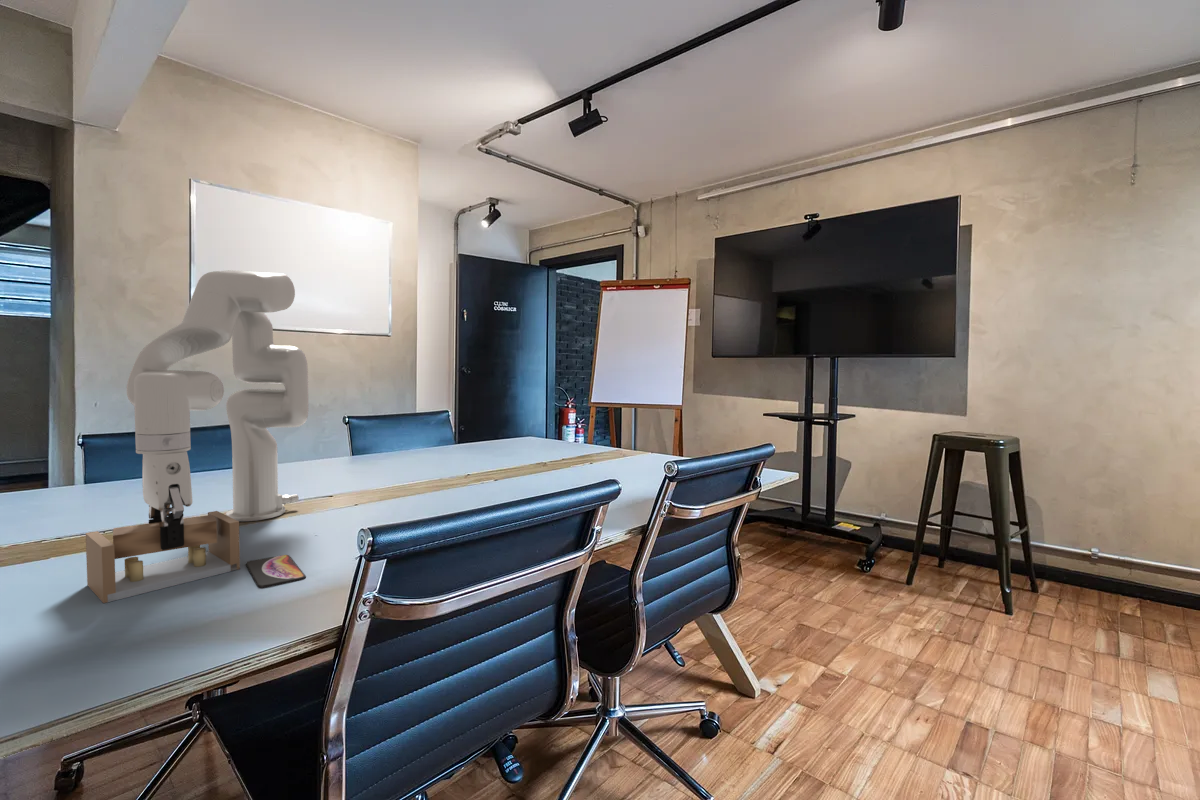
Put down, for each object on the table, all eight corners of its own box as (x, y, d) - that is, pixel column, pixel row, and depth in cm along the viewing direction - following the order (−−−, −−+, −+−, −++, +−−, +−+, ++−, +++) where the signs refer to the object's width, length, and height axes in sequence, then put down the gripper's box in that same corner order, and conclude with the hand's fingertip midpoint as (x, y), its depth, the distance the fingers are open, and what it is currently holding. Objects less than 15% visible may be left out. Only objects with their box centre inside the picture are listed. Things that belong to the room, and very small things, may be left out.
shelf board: (213, 535, 102) (213, 514, 102) (216, 542, 99) (216, 520, 98) (114, 551, 93) (113, 528, 93) (113, 559, 90) (112, 535, 89)
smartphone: (288, 553, 108) (307, 576, 97) (288, 557, 108) (307, 581, 97) (244, 561, 103) (258, 586, 92) (244, 565, 103) (258, 591, 92)
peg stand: (217, 555, 107) (216, 510, 106) (239, 568, 100) (239, 521, 100) (87, 585, 92) (85, 533, 91) (103, 603, 85) (101, 547, 85)
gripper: (206, 445, 93) (209, 549, 94) (174, 436, 103) (176, 529, 104) (151, 450, 87) (154, 561, 88) (122, 439, 97) (125, 538, 98)
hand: (166, 542), depth 96 cm, fingers closed on shelf board, 5 cm apart
